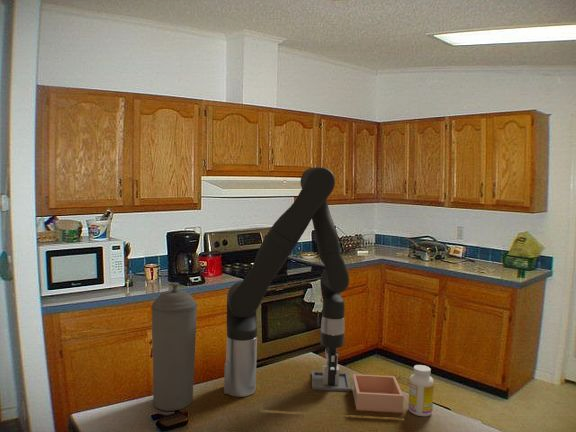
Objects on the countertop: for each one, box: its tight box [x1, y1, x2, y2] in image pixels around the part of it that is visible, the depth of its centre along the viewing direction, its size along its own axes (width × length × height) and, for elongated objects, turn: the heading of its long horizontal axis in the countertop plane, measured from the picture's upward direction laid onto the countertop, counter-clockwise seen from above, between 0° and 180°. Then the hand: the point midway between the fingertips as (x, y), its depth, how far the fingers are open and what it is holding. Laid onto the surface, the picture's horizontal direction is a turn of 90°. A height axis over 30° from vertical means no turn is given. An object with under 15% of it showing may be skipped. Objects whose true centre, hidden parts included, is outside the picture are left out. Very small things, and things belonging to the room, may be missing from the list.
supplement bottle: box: [408, 364, 435, 417], centre depth 129 cm, size 7×7×13 cm
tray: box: [311, 370, 352, 393], centre depth 146 cm, size 12×12×1 cm
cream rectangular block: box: [322, 363, 340, 385], centre depth 146 cm, size 5×4×5 cm
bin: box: [351, 373, 404, 414], centre depth 134 cm, size 13×13×6 cm
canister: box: [150, 281, 198, 412], centre depth 129 cm, size 13×13×35 cm
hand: (330, 379), depth 146 cm, fingers open, 8 cm apart
